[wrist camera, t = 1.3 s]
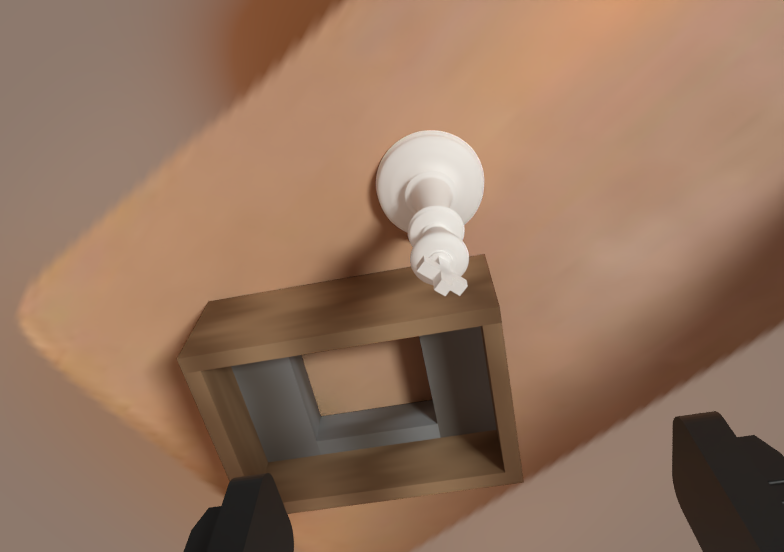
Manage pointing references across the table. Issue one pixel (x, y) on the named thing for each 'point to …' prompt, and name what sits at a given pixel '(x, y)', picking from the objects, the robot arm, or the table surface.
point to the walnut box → (367, 427)
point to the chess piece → (432, 202)
